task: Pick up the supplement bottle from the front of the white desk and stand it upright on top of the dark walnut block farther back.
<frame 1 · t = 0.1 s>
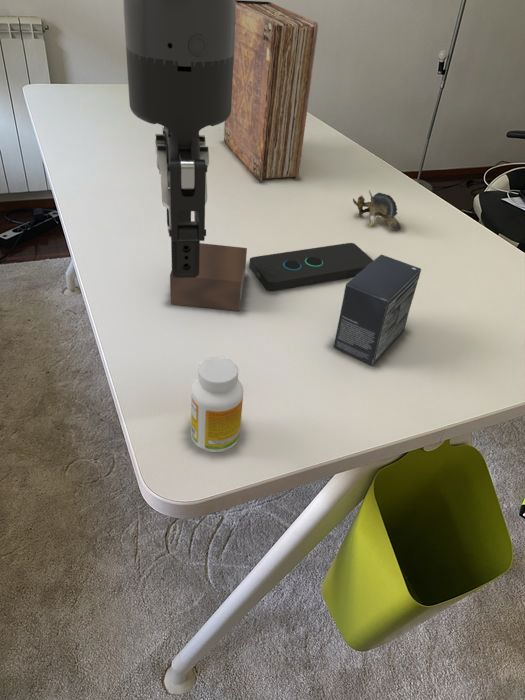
hand: (182, 250, 49), 22 cm above the table, tool pointing down, fingers open, 8 cm apart
book: (258, 160, 128), on the table
small box: (368, 340, 77), on the table
smart home device: (312, 270, 91), on the table
walnut block: (209, 289, 84), on the table
eagle figurine: (376, 224, 107), on the table
supplement bottle: (215, 436, 61), on the table
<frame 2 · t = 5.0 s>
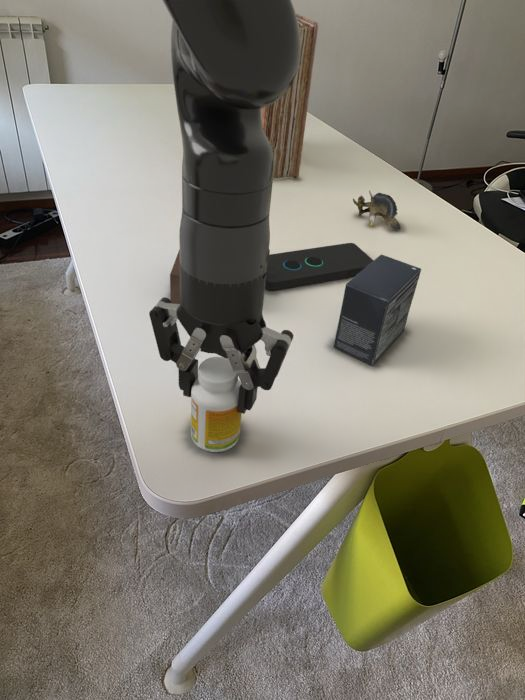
hand: (217, 399, 57), 5 cm above the table, tool pointing down, fingers closed on supplement bottle, 5 cm apart
supplement bottle: (215, 436, 61), on the table, touching gripper
everything else where it was.
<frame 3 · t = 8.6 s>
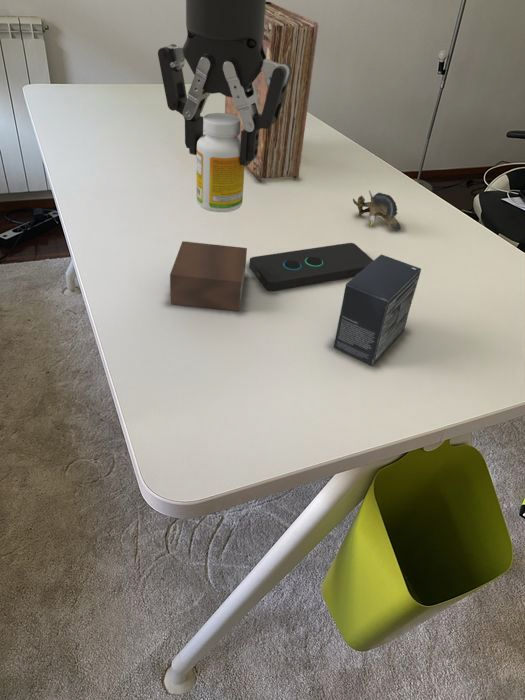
hand: (221, 157, 61), 24 cm above the table, tool pointing down, fingers closed on supplement bottle, 5 cm apart
supplement bottle: (219, 205, 65), point 18 cm above the table, touching gripper
everything else where it was.
when the fingers open (10 cm above the table, at t = 12.7 s): supplement bottle stays where it is, resting on walnut block.
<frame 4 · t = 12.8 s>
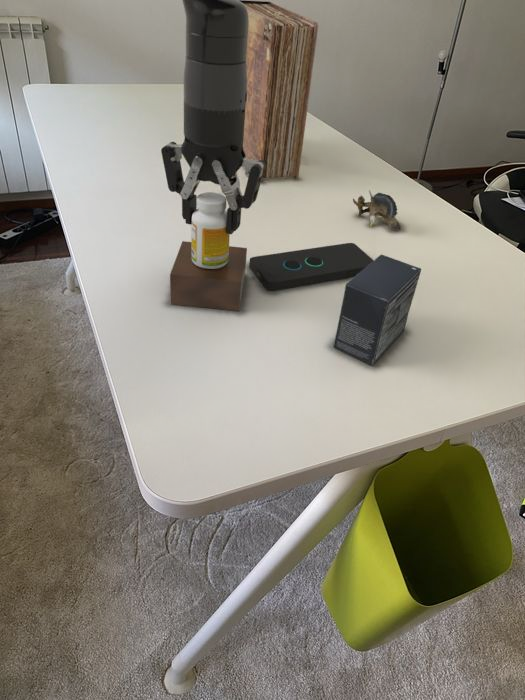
hand: (211, 226, 77), 10 cm above the table, tool pointing down, fingers open, 5 cm apart
walnut block: (209, 289, 84), on the table, touching supplement bottle
supplement bottle: (209, 261, 81), point 5 cm above the table, touching walnut block
everything else where it was.
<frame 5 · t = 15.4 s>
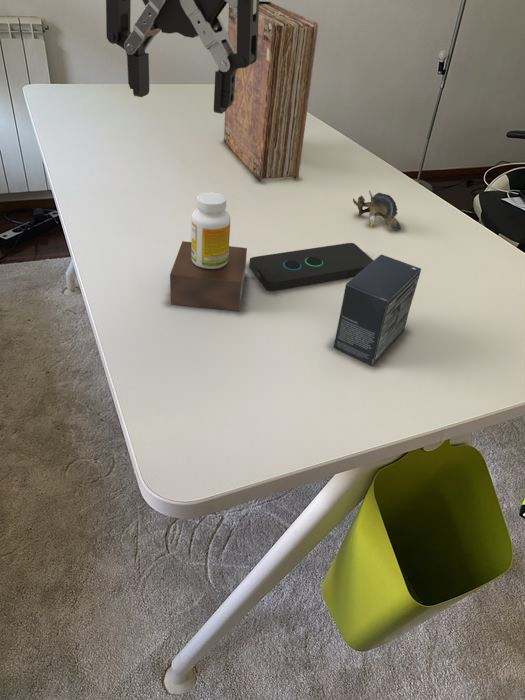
hand: (180, 103, 55), 30 cm above the table, tool pointing down, fingers open, 8 cm apart
nothing on the table moved.
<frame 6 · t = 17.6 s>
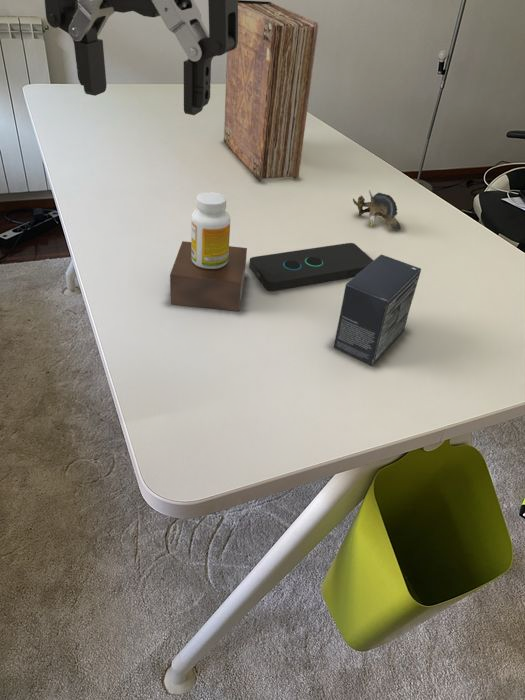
hand: (144, 102, 43), 33 cm above the table, tool pointing down, fingers open, 8 cm apart
nothing on the table moved.
at the end: supplement bottle 0.1 cm off-centre on the walnut block, point 4.8 cm above the walnut block's base; supplement bottle tilted 0°; the gripper is holding nothing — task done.
